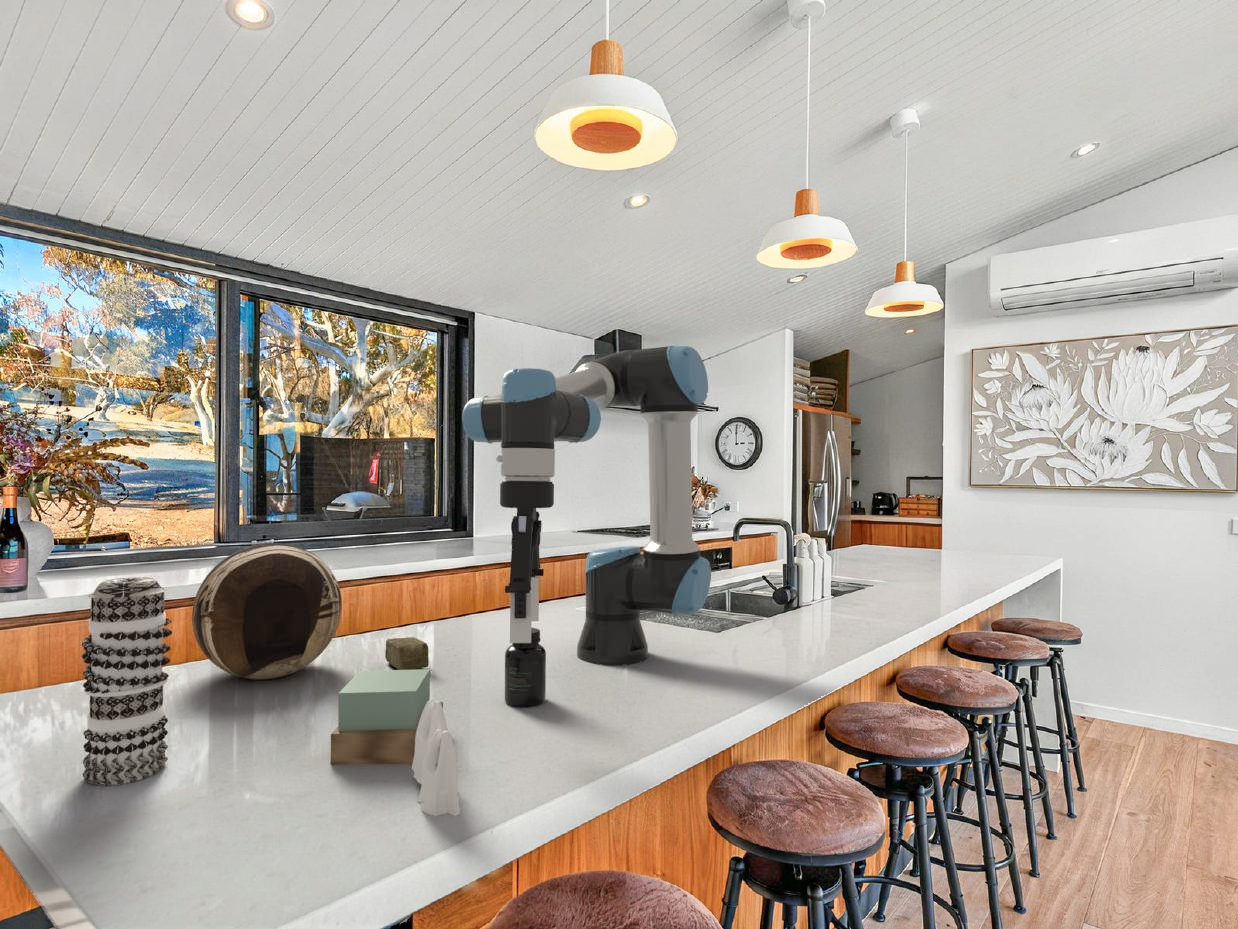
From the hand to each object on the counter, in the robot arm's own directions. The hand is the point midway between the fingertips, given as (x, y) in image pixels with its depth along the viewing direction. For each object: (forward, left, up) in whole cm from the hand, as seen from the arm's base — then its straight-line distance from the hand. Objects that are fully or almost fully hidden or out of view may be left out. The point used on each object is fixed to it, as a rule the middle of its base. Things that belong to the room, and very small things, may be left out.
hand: (525, 631), depth 97 cm
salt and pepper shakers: (+9, +14, -17) cm, 24 cm away
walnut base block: (+19, 0, -17) cm, 25 cm away
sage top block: (+19, 0, -12) cm, 23 cm away
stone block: (+25, -37, -17) cm, 48 cm away
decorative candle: (+49, +8, -17) cm, 52 cm away
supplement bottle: (+2, -20, -17) cm, 26 cm away
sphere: (+51, -35, -17) cm, 64 cm away
